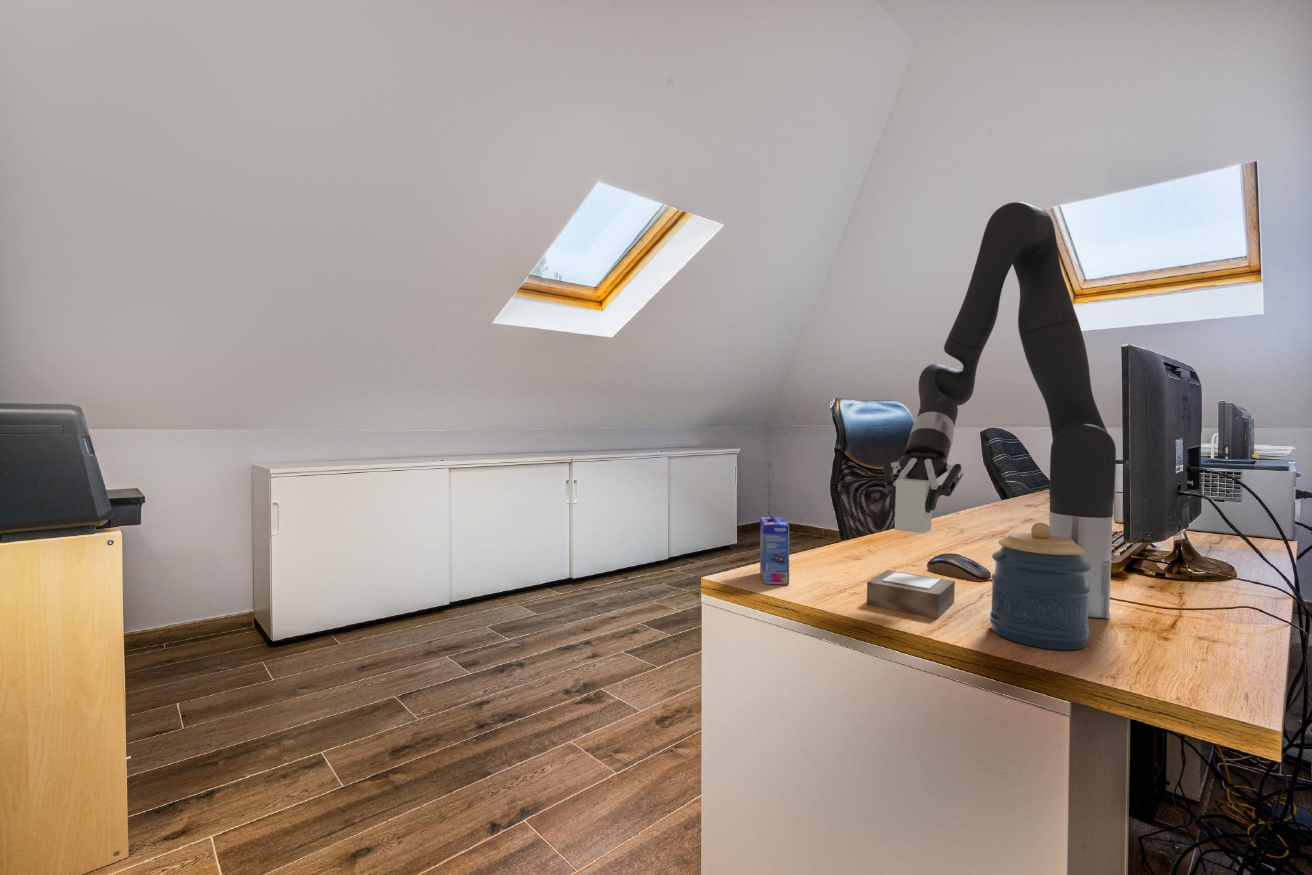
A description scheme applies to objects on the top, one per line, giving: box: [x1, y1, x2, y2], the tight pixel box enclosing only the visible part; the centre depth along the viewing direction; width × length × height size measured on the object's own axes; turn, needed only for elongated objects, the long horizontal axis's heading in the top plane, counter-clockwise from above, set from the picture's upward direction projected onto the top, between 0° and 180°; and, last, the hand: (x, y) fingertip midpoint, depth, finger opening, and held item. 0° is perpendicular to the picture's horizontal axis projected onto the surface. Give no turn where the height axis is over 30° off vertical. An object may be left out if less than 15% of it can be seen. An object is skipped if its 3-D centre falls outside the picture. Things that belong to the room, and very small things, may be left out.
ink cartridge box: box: [759, 507, 790, 586], centre depth 125 cm, size 10×6×14 cm, turn 174°
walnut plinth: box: [866, 569, 956, 619], centre depth 109 cm, size 12×12×4 cm
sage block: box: [894, 479, 933, 534], centre depth 109 cm, size 5×5×9 cm
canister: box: [989, 522, 1092, 651], centre depth 93 cm, size 13×13×18 cm
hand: (911, 507), depth 108 cm, fingers closed on sage block, 5 cm apart
